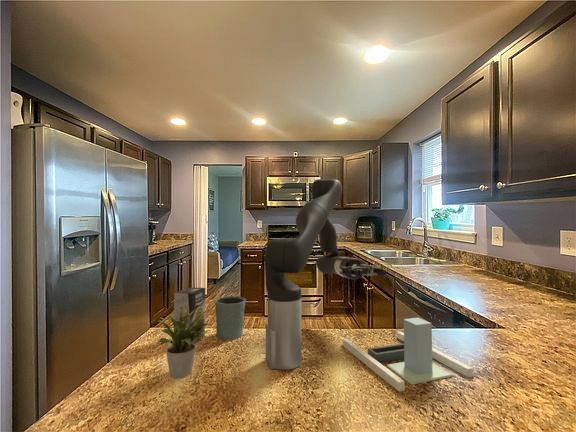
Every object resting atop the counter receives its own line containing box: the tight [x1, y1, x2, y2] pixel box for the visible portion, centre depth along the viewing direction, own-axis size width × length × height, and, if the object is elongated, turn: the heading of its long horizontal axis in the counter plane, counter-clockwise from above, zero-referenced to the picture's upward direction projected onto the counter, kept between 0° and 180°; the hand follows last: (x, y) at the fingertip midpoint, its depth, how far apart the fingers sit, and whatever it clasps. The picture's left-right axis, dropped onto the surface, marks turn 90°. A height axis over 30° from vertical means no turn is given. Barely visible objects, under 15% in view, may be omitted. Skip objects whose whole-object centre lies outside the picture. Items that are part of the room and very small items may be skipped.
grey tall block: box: [403, 317, 433, 375], centre depth 73 cm, size 5×5×12 cm
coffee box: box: [172, 287, 206, 344], centre depth 93 cm, size 9×6×16 cm
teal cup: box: [214, 295, 246, 341], centre depth 97 cm, size 10×10×12 cm
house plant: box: [152, 306, 212, 379], centre depth 70 cm, size 14×14×16 cm
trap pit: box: [367, 342, 404, 364], centre depth 80 cm, size 16×4×2 cm, turn 107°
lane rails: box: [342, 331, 474, 392], centre depth 79 cm, size 22×26×2 cm
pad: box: [386, 361, 453, 385], centre depth 72 cm, size 12×9×1 cm
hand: (373, 273), depth 90 cm, fingers open, 8 cm apart
